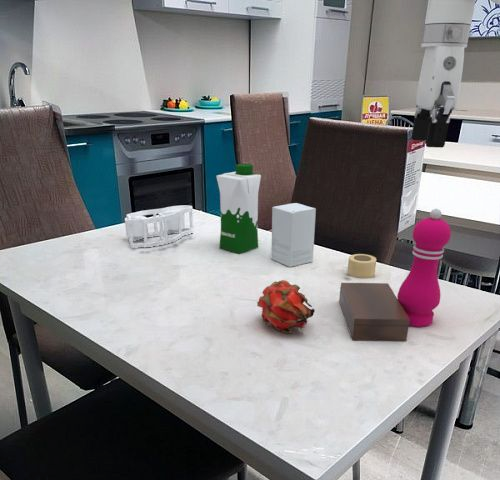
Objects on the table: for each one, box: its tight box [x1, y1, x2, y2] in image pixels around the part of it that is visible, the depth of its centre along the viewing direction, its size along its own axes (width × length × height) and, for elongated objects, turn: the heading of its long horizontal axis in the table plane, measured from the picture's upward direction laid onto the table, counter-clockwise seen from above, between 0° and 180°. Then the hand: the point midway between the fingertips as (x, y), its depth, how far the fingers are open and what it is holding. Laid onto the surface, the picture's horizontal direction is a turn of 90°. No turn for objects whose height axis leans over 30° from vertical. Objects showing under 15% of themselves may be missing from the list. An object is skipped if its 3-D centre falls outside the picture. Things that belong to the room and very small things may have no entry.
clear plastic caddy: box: [124, 204, 194, 249], centre depth 133 cm, size 20×11×7 cm, turn 126°
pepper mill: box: [396, 208, 452, 328], centre depth 87 cm, size 7×7×20 cm
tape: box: [346, 253, 377, 279], centre depth 112 cm, size 6×6×4 cm
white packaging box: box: [270, 202, 317, 268], centre depth 117 cm, size 7×7×13 cm
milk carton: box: [215, 163, 262, 255], centre depth 123 cm, size 9×9×20 cm
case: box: [338, 282, 410, 342], centre depth 90 cm, size 9×16×4 cm, turn 179°
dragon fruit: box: [256, 279, 316, 334], centre depth 87 cm, size 8×8×12 cm
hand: (426, 143), depth 95 cm, fingers open, 9 cm apart
